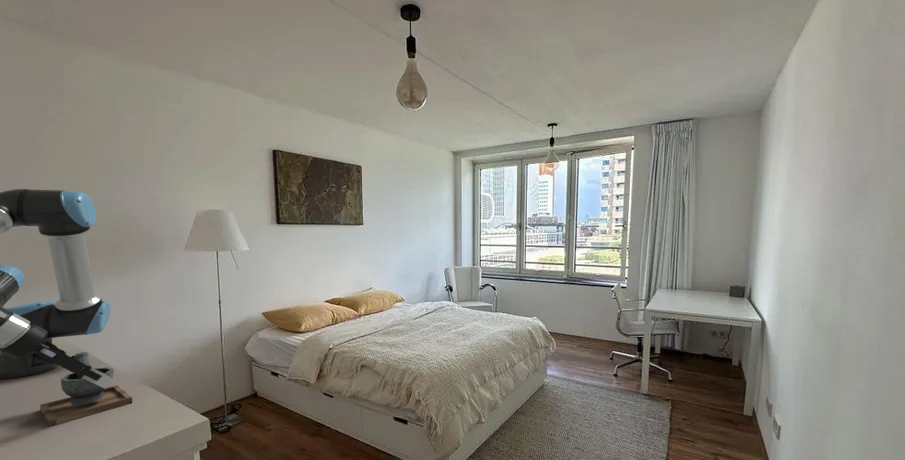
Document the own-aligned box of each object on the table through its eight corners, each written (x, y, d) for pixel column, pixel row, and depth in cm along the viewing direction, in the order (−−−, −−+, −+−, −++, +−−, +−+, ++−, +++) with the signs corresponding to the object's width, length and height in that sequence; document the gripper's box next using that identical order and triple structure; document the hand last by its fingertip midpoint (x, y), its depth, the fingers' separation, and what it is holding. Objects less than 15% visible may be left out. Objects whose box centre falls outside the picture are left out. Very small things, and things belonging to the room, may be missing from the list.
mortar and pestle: (118, 396, 98) (119, 352, 98) (70, 411, 89) (71, 362, 90) (101, 389, 103) (101, 346, 103) (53, 402, 95) (54, 356, 95)
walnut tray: (40, 410, 94) (40, 404, 94) (116, 390, 106) (116, 385, 106) (50, 426, 86) (50, 420, 86) (132, 402, 98) (132, 397, 98)
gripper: (-14, 343, 89) (73, 384, 102) (9, 358, 77) (104, 402, 90) (19, 318, 94) (98, 360, 107) (46, 328, 82) (131, 374, 95)
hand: (101, 379), depth 99 cm, fingers closed on mortar and pestle, 11 cm apart
